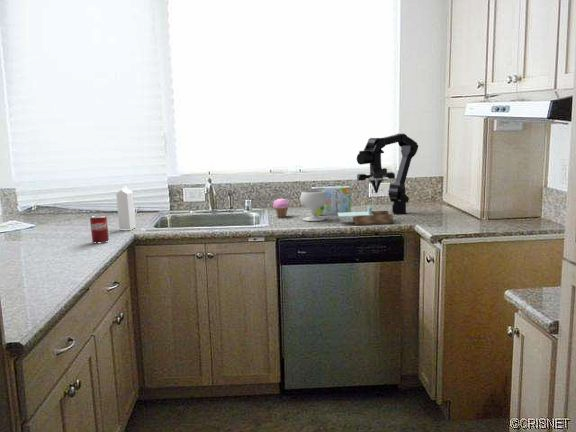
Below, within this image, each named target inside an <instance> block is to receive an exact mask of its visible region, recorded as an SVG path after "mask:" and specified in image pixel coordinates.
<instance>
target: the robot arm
mask: <svg viewBox="0 0 576 432" xmlns="http://www.w3.org/2000/svg"><path fill="white" fill-rule="evenodd" d="M397 143H398V146H399V147H400V148H401V149H400V153H401V159H400V164H399V167H398V171H397V174H396V175H395V173H394V172H392V171H389V172H388V168H385V167H384V168H382V154H384V153H385V151H384V150H383V149H384V148H386V146H387V145H388V146H389V145H393V144H397ZM418 150H419V145H418V142H417V141H415V140H414V139H413V138H410V137H409V136H408V135H407V134H405V133H396V134H394V135H393V134H392V135H390V136H384V137H369V138H368V140H367V142H366V144H365V146H364V148H363V150H359V152H358V154H357V155H356V162H357V164H359V165H369V174H366V173H357V175H356V180H358V181H366V180H367V181H368V182H370V183H371V185H372V188H373V190H374V193H375V194H378V192H379V188H380V185H381V183H383V182H385V179H384V178H388V179H389V180H391V179H392V180H393V179H395V182H394V183H391V184H390V185H389V188H388V193H387V195H388V196H389V200H390V202H391V203H392V205H391V211H392V213H393V215H406V214H408V213H407V203H409V200H410V198H409V197H408V195H407V194H406V191H407V189H406V187H405V186H406V185H405V183H406V180H407V176H408V172H409V169H410V165H411V161H412V159H413V157H414V156H416V155H417V152H418Z"/></svg>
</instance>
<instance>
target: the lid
mask: <svg viewBox="0 0 576 432" xmlns="http://www.w3.org/2000/svg"><path fill="white" fill-rule="evenodd" d="M366 211H367V212H366ZM366 211H351V212H343V213H337V214H338V215H337V216H338V218H353V217H356V216H365V215H374V214H373V213H372V211H373V208H372V206H370V205H366Z"/></svg>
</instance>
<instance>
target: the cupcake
mask: <svg viewBox="0 0 576 432" xmlns="http://www.w3.org/2000/svg"><path fill="white" fill-rule="evenodd" d="M272 207H273V208H274V209H275V212H276V213H275V214H276V217H278V218H286V217H287V213H288V210H289V209H288V208H289V207H290V203H289V201H288V200H287V199H286V198H277V199H275V200H274V201H273V205H272Z"/></svg>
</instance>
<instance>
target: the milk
mask: <svg viewBox="0 0 576 432" xmlns="http://www.w3.org/2000/svg"><path fill="white" fill-rule="evenodd" d="M120 188H121V189H120V191H118V192H117V193H115V194H116V205H117V207H116V208H117V215H118V216H117V218H118V227H119V228H120V229H131V228H133V227H136V228H137V225H136V215H135V202H134V191H132V190H130V189H128V185H126V186H125V185H124V186H121V187H120ZM120 229H119V230H120Z"/></svg>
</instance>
